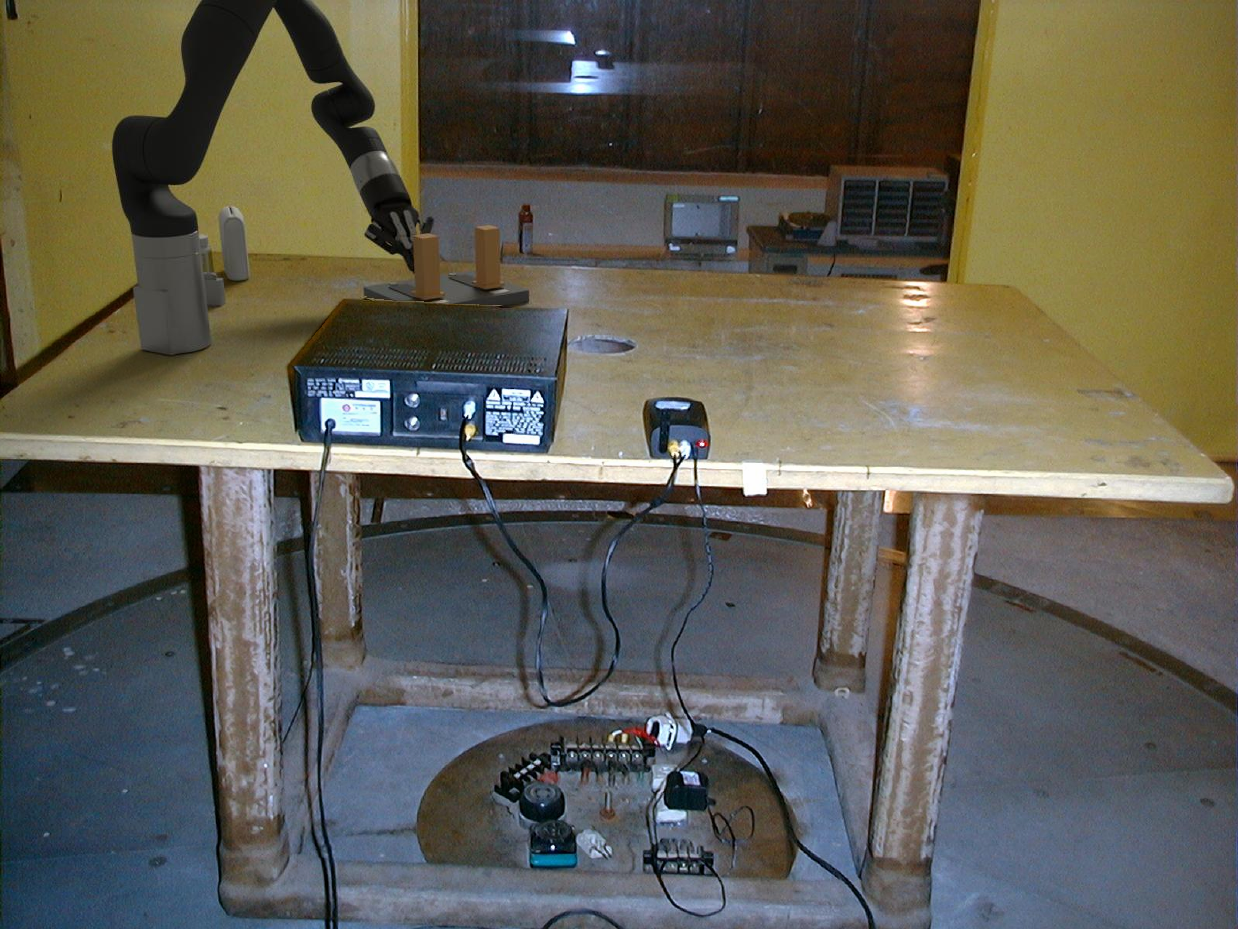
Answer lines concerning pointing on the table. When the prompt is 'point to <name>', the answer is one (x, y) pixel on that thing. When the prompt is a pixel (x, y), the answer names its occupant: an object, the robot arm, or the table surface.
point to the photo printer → (233, 243)
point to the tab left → (426, 267)
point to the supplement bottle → (206, 254)
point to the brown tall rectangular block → (487, 257)
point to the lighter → (214, 289)
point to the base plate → (452, 291)
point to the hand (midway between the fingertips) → (420, 270)
